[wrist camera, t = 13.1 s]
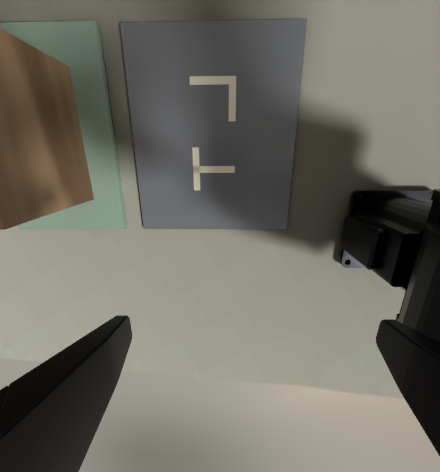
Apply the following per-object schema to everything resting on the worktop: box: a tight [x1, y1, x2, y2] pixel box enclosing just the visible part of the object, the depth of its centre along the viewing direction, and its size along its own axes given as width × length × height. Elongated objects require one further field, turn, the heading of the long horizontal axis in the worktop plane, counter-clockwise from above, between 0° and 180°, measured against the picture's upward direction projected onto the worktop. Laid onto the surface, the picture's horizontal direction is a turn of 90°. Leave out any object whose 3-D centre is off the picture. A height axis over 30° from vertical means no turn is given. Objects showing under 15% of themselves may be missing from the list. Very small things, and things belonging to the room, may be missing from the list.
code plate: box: [120, 19, 307, 229], centre depth 17 cm, size 12×14×1 cm
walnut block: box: [0, 29, 94, 229], centre depth 14 cm, size 5×9×8 cm, turn 1°
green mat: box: [0, 21, 127, 230], centre depth 18 cm, size 9×14×1 cm, turn 0°
